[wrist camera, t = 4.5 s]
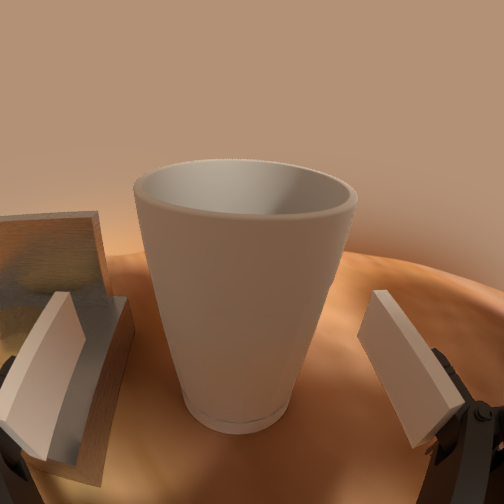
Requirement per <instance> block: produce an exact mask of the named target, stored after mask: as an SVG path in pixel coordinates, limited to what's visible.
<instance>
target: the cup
mask: <svg viewBox="0 0 504 504" xmlns="http://www.w3.org/2000/svg"><path fill="white" fill-rule="evenodd" d="M133 190H134V197H135V203H136V208H137V214H138V219H139V224H140V229H141V235H142V240H143V244H144V249H145V254H146V258H147V263H148V267H149V271H150V275H151V279H152V284H153V288H154V292H155V297H156V301H157V305H158V309H159V313H160V317H161V320H162V324H163V328H164V332H165V335H166V339H167V342H168V346H169V349H170V353H171V356H172V360H173V363H174V366H175V369H176V373H177V376H178V379H179V382H180V385H181V390H182V395H183V399H184V402H185V405H186V407H187V409H188V410H189V412H190V413H191V415H192V416H193V417H194V418H195V419H196V420H197V421H199V422H200V423H201V424H203V425H204V426H206V427H208V428H210V429H212V430H215V431H218V432H221V433H226V434H234V435H241V434H250V433H255V432H258V431H261V430H263V429H265V428H267V427H269V426H271V425H272V424H274V423H275V422H276V421H278V420H279V419H280V418H281V416H282V415H283V414H284V412H285V411H286V409H287V407H288V405H289V401H290V398H291V394H292V391H293V386H294V384H295V381H296V379H297V376H298V374H299V371H300V369H301V366H302V364H303V361H304V359H305V356H306V353H307V351H308V348H309V345H310V343H311V340H312V337H313V335H314V332H315V329H316V326H317V323H318V320H319V318H320V315H321V312H322V309H323V306H324V303H325V300H326V297H327V294H328V291H329V288H330V286H331V284H332V283H333V280H334V278H335V275H336V272H337V269H338V265H339V262H340V259H341V256H342V253H343V250H344V247H345V243H346V240H347V237H348V234H349V230H350V227H351V224H352V220H353V217H354V213H355V210H356V206H357V202H358V195H357V193H356V192H355V190H354V189H353V188H352V187H351V186H350V185H348V184H347V183H345V182H344V181H342V180H340V179H338V178H336V177H334V176H331V175H329V174H326V173H323V172H320V171H317V170H313V169H310V168H306V167H301V166H297V165H292V164H285V163H279V162H272V161H263V160H250V159H209V160H197V161H189V162H182V163H176V164H172V165H167V166H164V167H160V168H157V169H155V170H152V171H149V172H147V173H145V174H144V175H142V176H141V177H139V178H138V179H137V180H136V182H135V183H134V186H133Z"/></svg>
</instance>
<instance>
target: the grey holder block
mask: <svg viewBox="0 0 504 504" xmlns="http://www.w3.org/2000/svg"><path fill="white" fill-rule="evenodd" d="M56 291H59V292H70V295H71V298H72V301H73V304H74V307H75V310H76V313H77V316H78V319H79V322H80V324H81V327H82V330H83V333H84V335H85V338H86V341H85V343H84V346H83V348H82V350H81V353H80V356H79V358H78V361H77V363H76V366H75V369H74V371H73V374H72V377H71V379H70V382H69V385H68V388H67V391H66V394H65V397H64V400H63V403H62V406H61V409H60V412H59V415H58V418H57V422H56V425H55V428H54V432H53V435H52V439H51V443H50V446H49V450H48V454H47V458H46V461H44V460H41V459H38V458H35V457H32V456H30V455H29V454H27V453H26V452H25V451H24V450H23V449H22V450H21V455H22V457H23V458H24V460H25V463H26V465H29V466H31V467H34V468H37V469H39V470H42V471H45V472H48V473H51V474H54V475H57V476H60V477H63V478H66V479H70V480H73V481H77V482H80V483H84V484H88V485H92V486H96V487H101V482H102V475H103V469H104V462H105V457H106V451H107V445H108V440H109V435H110V430H111V425H112V420H113V415H114V411H115V406H116V402H117V397H118V393H119V389H120V385H121V381H122V377H123V373H124V369H125V365H126V361H127V358H128V354H129V350H130V347H131V343H132V340H133V336H134V333H135V327H134V322H133V318H132V314H131V309H130V305H129V300H128V296H113V292H112V287H111V283H110V278H109V273H108V268H107V263H106V258H105V253H104V247H103V242H102V236H101V229H100V222H99V215H98V211H80V212H61V213H60V212H59V213H42V214H25V215H11V216H0V369H1V367H2V365H3V363H4V362H5V361H7V360H8V359H9V358H10V357H11V356H12V355H13V356H17V355H18V353H19V351H20V349H21V347H22V346H23V344H24V342H25V340H26V339H27V337H28V335H29V333H30V332H31V330H32V328H33V326H34V325H35V323H36V321H37V320H38V318H39V317H40V315H41V313H42V312H43V310H44V309H45V307H46V305H47V304H48V302H49V301H50V299H51V298H52V296H53V295H54V293H55V292H56Z"/></svg>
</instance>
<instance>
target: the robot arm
mask: <svg viewBox="0 0 504 504" xmlns="http://www.w3.org/2000/svg"><path fill="white" fill-rule="evenodd" d="M357 337H358V339H359V341H360V343H361V344H362V346H363V348H364V350H365V352H366V354H367V356H368V358H369V360H370V362H371V364H372V366H373V368H374V370H375V372H376V374H377V376H378V378H379V380H380V382H381V384H382V386H383V388H384V390H385V392H386V394H387V396H388V398H389V400H390V402H391V404H392V406H393V408H394V410H395V412H396V414H397V417H398V419H399V421H400V423H401V425H402V427H403V429H404V432H405V434H406V436H407V438H408V440H409V443H410V445H411V447H412V449H413V448H416V447H418V446H421V445H423V444H426V443H428V442H429V441H430V440H431V439H432V438H433V437H434V436H435V435H436V437H437V439H438V440H437V441H436V442H435V443H434V444H433V445H432V446H431V447H430V448H429V449H427V451H426V453H425V455H427V454H429V453H430V452H431V451H432V450H433V452H432V454H431V455H430V456H431V459H430V463H429V466H428V469H427V473H426V476H425V479H424V482H423V485H422V488H421V491H420V494H419V497H418V499H417V502H416V504H504V448H503V449H502V450H500V449H499V445H500V444H501V443H502V442H504V406H501V407H490V406H489V405H488V404H487V403H485V402H483V401H475V400H474V399H473V398H472V396H471V394H470V393H469V391H468V390H467V388H466V387H465V385H464V384H463V382H462V381H461V379H460V378H459V376H458V375H457V374H456V373H455V370H454V369H453V367H452V366H451V364H450V363H449V361H448V360H447V358H446V357H445V356H444V355H443V354H442V353H441V352H439V351H438V350H437V349H436V348H433V349H430V348H429V346H428V345H427V343H426V342H425V341H424V339H423V338H422V336H421V335H420V334H419V332H418V331H417V329H416V328H415V327H414V325H413V324H412V322H411V321H410V320H409V318H408V317H407V316H406V314H405V313H404V312H403V310H402V309H401V308H400V306H399V305H398V304H397V302H396V301H395V300H394V298H393V297H392V296H391V295H390V293H389V292H388V291H387V290H373V291H372V294H371V297H370V300H369V303H368V306H367V309H366V312H365V315H364V318H363V321H362V324H361V327H360V329H359V332H358V335H357ZM85 341H86V338H85V335H84V333H83V330H82V327H81V324H80V322H79V319H78V316H77V313H76V310H75V307H74V304H73V301H72V298H71V295H70V292H59V291H56V292H55V293H54V295H53V296H52V298H51V299H50V301H49V302H48V304H47V305H46V307H45V309H44V310H43V312H42V313H41V315H40V317H39V318H38V320H37V321H36V323H35V325H34V326H33V328H32V330H31V332H30V333H29V335H28V337H27V339H26V340H25V342H24V344H23V346H22V347H21V349H20V351H19V353H18V355H17V356H13V355H12V356H11V357H10V358H9V359H8V360H7V361H5V362H4V363H3V365H2V367H1V369H0V504H45V503H44V501H43V499H42V498H41V496H40V494H39V492H38V490H37V487H36V485H35V483H34V481H33V479H32V477H31V474H30V472H29V470H28V468H27V465H26V463H25V460H24V458H23V457H22V455H21V450H22V449H23V450H24V451H25V452H26V453H27V454H29V455H30V456H32V457H35V458H38V459H41V460H44V461H46V458H47V454H48V450H49V446H50V443H51V439H52V435H53V432H54V428H55V425H56V422H57V418H58V415H59V412H60V409H61V406H62V403H63V400H64V397H65V394H66V391H67V388H68V385H69V382H70V379H71V377H72V374H73V371H74V369H75V366H76V363H77V361H78V358H79V356H80V353H81V350H82V348H83V346H84V343H85Z"/></svg>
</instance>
